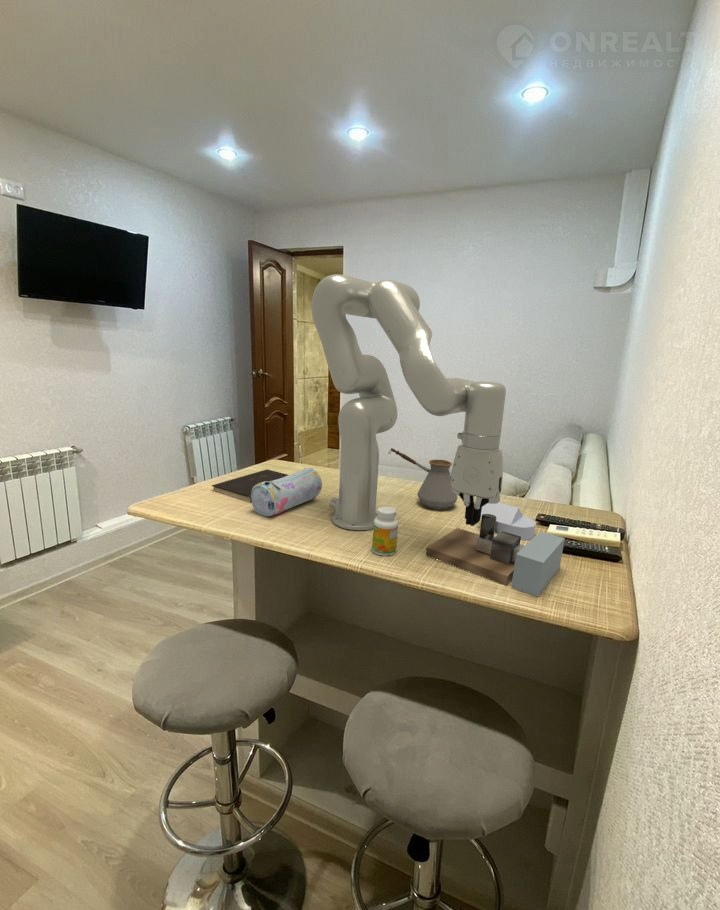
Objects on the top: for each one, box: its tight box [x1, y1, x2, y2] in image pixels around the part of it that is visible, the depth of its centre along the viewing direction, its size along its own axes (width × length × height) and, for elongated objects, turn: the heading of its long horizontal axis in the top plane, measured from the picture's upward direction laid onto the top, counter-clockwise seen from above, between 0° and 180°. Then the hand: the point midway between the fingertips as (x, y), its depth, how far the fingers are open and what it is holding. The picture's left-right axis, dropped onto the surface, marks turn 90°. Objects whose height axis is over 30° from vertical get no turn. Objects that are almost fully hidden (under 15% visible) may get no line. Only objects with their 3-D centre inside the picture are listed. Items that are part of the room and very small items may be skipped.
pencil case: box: [251, 467, 323, 517], centre depth 121 cm, size 21×9×10 cm, turn 145°
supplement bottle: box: [371, 506, 399, 557], centre depth 97 cm, size 5×5×10 cm
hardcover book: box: [211, 468, 289, 504], centre depth 137 cm, size 16×23×2 cm
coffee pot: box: [387, 447, 458, 511], centre depth 130 cm, size 21×12×15 cm, turn 67°
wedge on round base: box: [481, 502, 537, 541], centre depth 113 cm, size 9×7×13 cm
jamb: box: [510, 531, 566, 598], centre depth 90 cm, size 5×15×7 cm, turn 142°
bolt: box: [476, 514, 525, 563], centre depth 93 cm, size 12×3×8 cm, turn 52°
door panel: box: [425, 527, 522, 586], centre depth 97 cm, size 18×15×6 cm
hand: (472, 523), depth 98 cm, fingers closed
